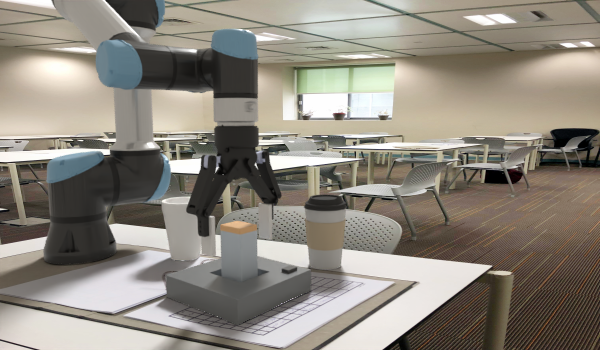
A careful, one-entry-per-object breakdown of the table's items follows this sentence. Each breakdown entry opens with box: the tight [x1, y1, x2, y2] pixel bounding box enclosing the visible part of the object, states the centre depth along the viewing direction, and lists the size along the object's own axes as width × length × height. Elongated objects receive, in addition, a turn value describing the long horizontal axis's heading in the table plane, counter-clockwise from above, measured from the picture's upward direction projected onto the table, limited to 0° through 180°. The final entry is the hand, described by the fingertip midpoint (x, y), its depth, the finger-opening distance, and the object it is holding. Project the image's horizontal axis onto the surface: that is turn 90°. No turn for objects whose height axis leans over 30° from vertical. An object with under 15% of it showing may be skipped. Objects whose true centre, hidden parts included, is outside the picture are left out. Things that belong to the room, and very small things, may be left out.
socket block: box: [165, 255, 312, 326], centre depth 83 cm, size 18×18×5 cm
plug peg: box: [219, 220, 258, 282], centre depth 82 cm, size 5×4×12 cm
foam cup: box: [161, 196, 202, 261], centre depth 105 cm, size 10×9×13 cm
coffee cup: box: [303, 193, 348, 271], centre depth 99 cm, size 9×9×15 cm
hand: (238, 246), depth 82 cm, fingers open, 13 cm apart
